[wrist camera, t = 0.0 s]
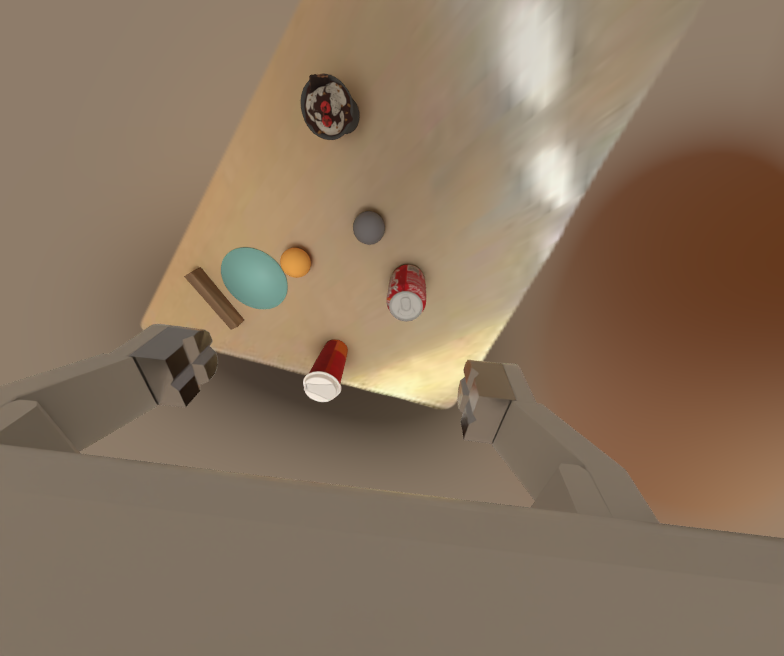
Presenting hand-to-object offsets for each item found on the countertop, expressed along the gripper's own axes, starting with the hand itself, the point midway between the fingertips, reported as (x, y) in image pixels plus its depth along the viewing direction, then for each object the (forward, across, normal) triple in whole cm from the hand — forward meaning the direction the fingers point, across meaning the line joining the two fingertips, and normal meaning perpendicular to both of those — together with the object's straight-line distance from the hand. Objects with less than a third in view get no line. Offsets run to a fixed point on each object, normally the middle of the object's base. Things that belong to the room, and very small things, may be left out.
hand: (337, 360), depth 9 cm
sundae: (+48, +10, -9) cm, 50 cm away
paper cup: (+48, +12, +37) cm, 62 cm away
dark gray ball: (+45, +5, +7) cm, 46 cm away
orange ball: (+45, +19, +15) cm, 51 cm away
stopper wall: (+48, +38, +26) cm, 67 cm away
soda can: (+48, -3, +17) cm, 51 cm away
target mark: (+48, +29, +21) cm, 60 cm away
